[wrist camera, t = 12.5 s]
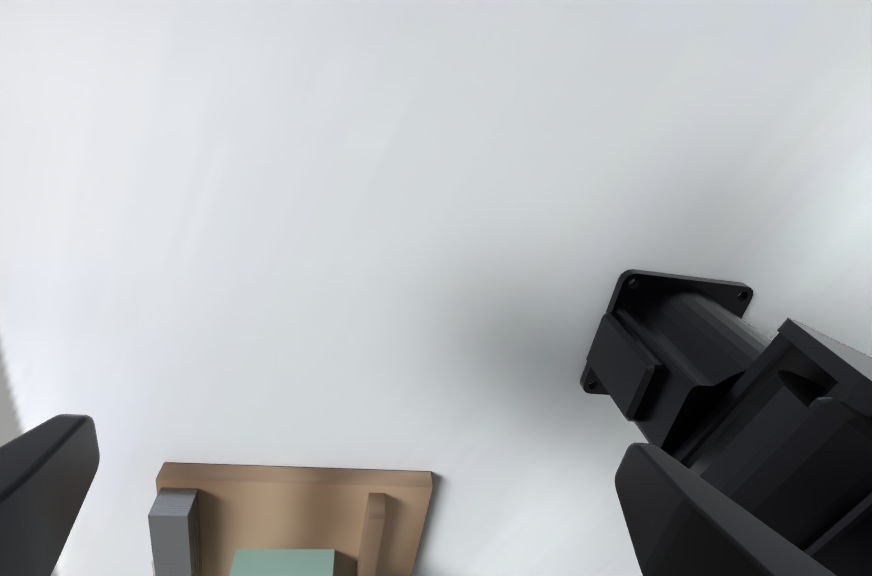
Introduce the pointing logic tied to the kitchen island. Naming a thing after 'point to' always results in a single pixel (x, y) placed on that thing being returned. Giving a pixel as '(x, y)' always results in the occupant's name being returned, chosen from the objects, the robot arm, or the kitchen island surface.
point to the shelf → (307, 513)
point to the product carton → (283, 562)
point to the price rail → (176, 533)
